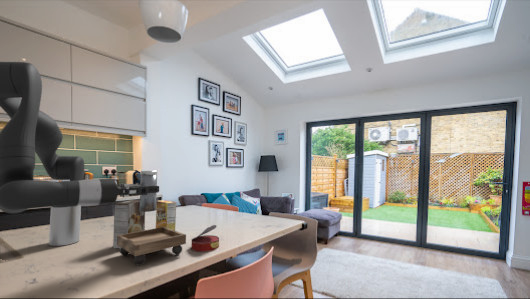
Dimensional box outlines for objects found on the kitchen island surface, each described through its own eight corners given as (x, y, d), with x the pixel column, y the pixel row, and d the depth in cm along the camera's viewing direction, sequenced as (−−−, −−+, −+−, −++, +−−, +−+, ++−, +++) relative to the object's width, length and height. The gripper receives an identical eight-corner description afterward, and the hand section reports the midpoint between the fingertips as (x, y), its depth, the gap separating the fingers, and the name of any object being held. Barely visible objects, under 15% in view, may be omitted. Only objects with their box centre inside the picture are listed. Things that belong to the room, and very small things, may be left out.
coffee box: (130, 240, 99) (131, 199, 100) (144, 241, 98) (146, 200, 99) (112, 248, 90) (113, 203, 91) (127, 249, 89) (129, 203, 90)
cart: (116, 254, 83) (117, 235, 83) (163, 243, 95) (164, 226, 95) (134, 268, 72) (135, 245, 73) (185, 253, 84) (186, 234, 84)
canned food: (200, 265, 86) (187, 242, 84) (194, 253, 95) (182, 232, 93) (228, 246, 91) (217, 223, 88) (220, 236, 100) (209, 215, 97)
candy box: (154, 239, 102) (155, 200, 103) (164, 236, 105) (165, 199, 106) (165, 243, 96) (166, 202, 97) (175, 240, 99) (176, 201, 100)
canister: (136, 210, 83) (138, 170, 84) (152, 208, 87) (153, 170, 88) (142, 212, 80) (144, 171, 81) (158, 210, 83) (159, 170, 84)
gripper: (104, 180, 68) (165, 178, 81) (90, 178, 78) (147, 176, 90) (102, 208, 68) (164, 201, 80) (89, 202, 78) (146, 197, 90)
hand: (154, 188), depth 85 cm, fingers closed on canister, 5 cm apart
